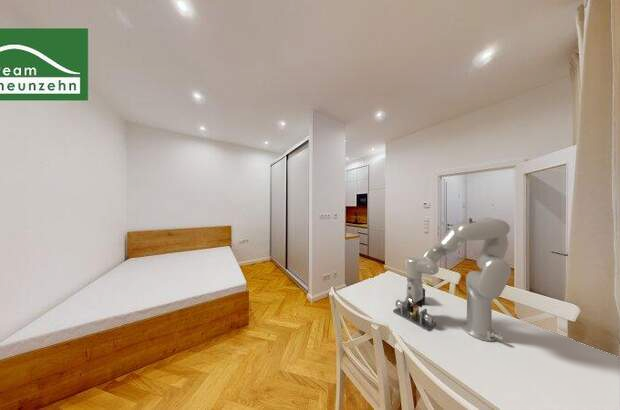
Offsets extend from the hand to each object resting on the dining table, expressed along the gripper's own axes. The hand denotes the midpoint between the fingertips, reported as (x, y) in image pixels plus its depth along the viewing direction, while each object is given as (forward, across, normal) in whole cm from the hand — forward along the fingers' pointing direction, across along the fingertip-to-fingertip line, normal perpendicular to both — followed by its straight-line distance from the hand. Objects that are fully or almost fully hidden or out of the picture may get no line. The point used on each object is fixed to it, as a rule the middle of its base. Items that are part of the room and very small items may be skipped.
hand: (414, 308), depth 109 cm
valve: (+4, 0, 0) cm, 4 cm away
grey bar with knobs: (+6, 0, +1) cm, 6 cm away
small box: (+6, +21, +10) cm, 24 cm away
